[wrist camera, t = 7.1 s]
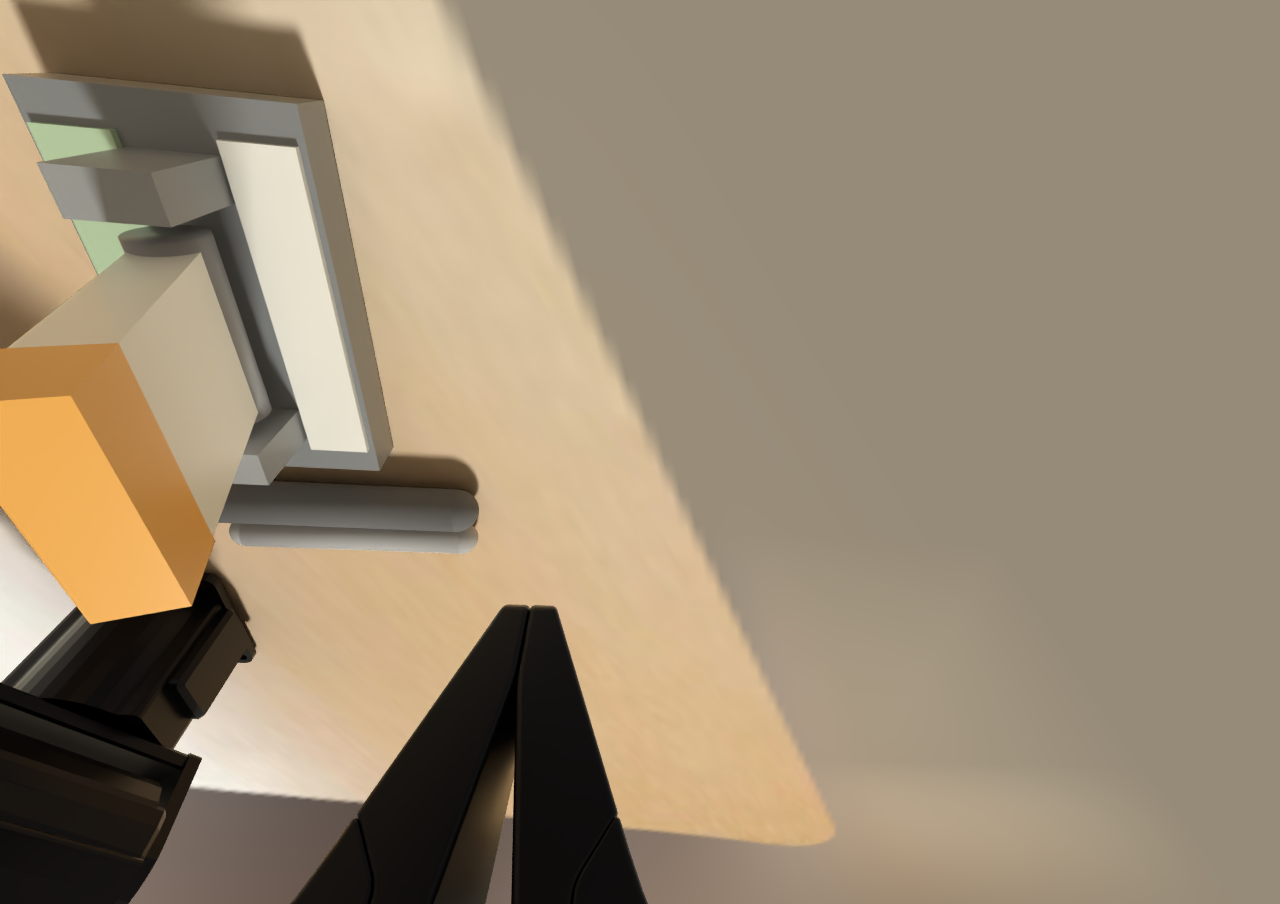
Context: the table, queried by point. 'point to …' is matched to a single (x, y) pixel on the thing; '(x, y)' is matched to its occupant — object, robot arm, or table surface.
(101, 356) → the lever
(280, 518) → the grey double capsule
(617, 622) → the table surface
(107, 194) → the panel
